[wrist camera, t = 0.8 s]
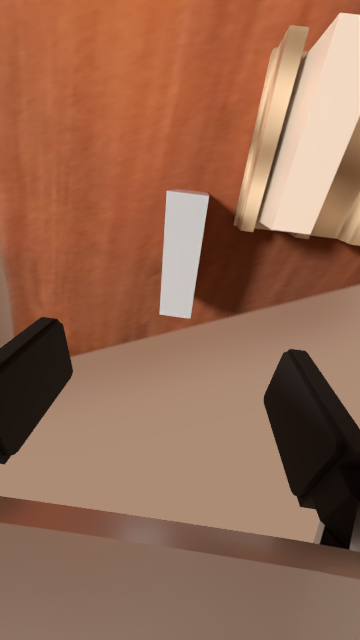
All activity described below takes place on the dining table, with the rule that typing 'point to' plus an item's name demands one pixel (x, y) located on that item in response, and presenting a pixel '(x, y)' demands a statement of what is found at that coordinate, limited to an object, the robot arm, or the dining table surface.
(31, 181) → the dining table surface
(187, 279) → the white rectangular block
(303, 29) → the rack
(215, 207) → the dining table surface
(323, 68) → the cream foam brick
